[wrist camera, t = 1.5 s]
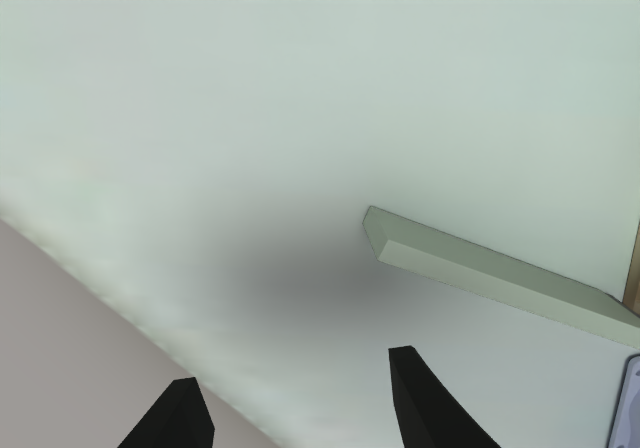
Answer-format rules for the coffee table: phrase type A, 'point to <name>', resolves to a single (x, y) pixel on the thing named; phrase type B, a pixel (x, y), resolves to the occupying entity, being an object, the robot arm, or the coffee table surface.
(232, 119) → the coffee table surface
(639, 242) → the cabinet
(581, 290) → the sage green panel
